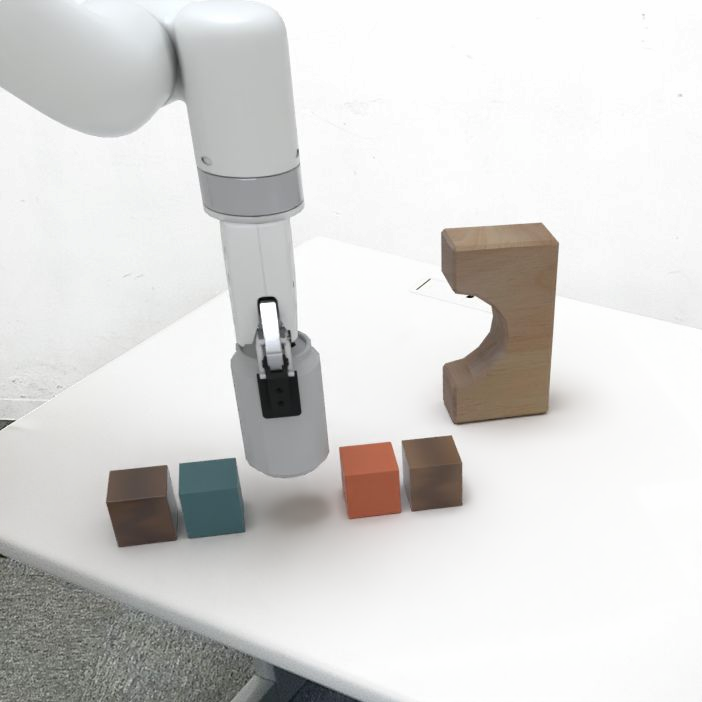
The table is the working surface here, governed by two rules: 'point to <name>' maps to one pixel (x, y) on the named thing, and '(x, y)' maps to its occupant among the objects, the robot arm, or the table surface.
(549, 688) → the table surface
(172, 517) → the block
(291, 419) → the can
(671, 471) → the table surface
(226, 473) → the block
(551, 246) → the decorative block
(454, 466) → the block
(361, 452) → the block
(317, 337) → the table surface
